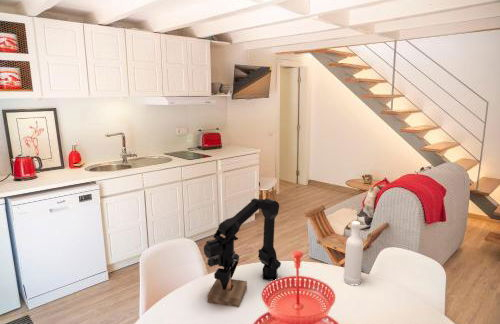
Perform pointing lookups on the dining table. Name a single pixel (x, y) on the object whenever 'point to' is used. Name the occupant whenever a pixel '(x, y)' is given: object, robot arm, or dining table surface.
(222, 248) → the robot arm
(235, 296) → the hole block
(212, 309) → the dining table surface
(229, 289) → the peg
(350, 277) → the bottle
